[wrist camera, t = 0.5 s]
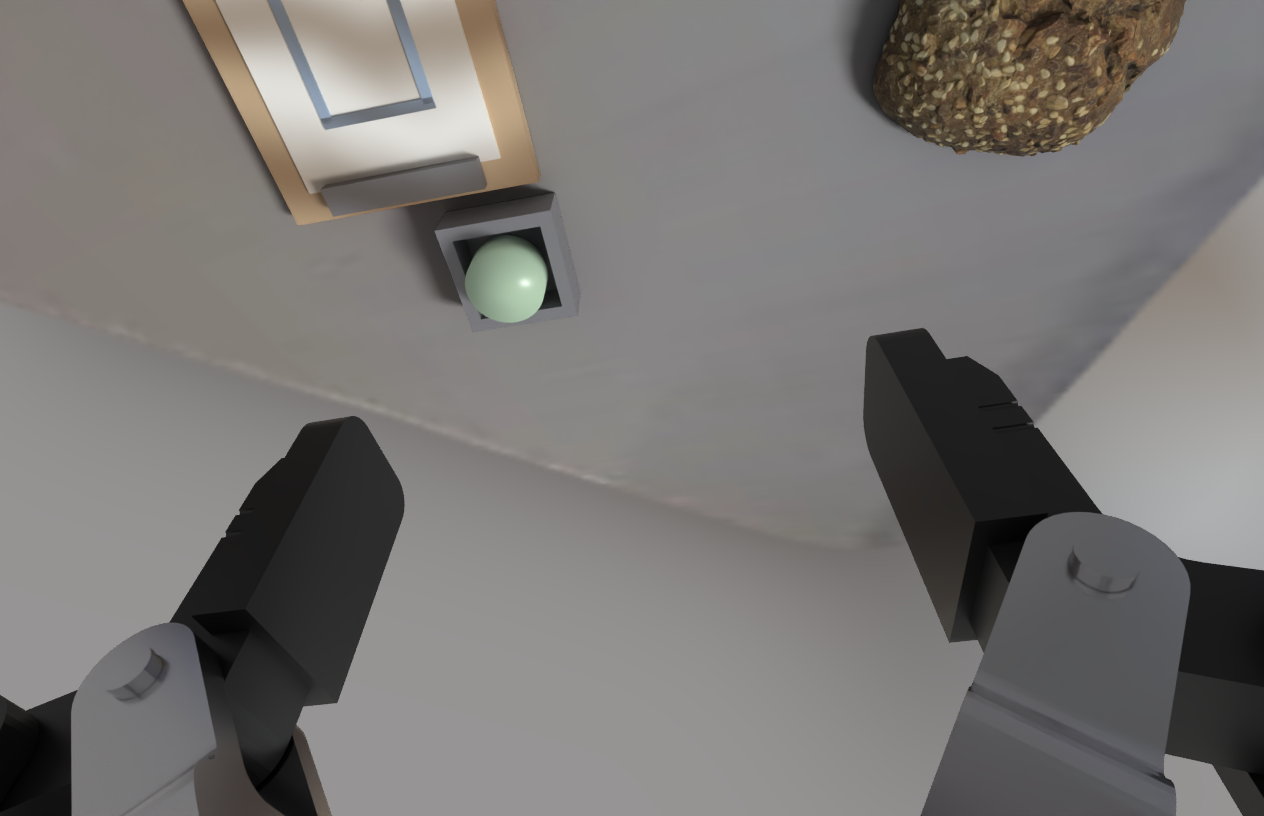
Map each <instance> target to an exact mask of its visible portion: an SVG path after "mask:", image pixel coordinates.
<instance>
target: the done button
mask: <svg viewBox="0 0 1264 816" xmlns="http://www.w3.org/2000/svg"><path fill="white" fill-rule="evenodd" d="M547 280H548V267H547V263H546V260H545V258H544V256H543V255H542V253H541V252H540V251H539V250H538V248H537V247H535V246H534V245H533V244H532V243H530V242H529V241H527V240H525V239H523V238H520V237H517V236H512V235H500V236H496V237H493V238H490V239H488V240H487V241H485V242H484V243H483V244H482V245H481V246H480V247H479V248H478V249H477V251H476V253H475V255H474V257H473V259H472V262H471V264H470V266H469V268H468V271H467V273H466V277H465V289H466V293H467V296H468V298H469V300H470V301H471V303H472V304H473V306H474V307H475V308H476V309H477V310H478V311H479V312H480V313H482V314H483V315H485V316H486V317H488V318H490V319H493V320H495V321H499V322H505V323H513V322H519V321H523V320H525V319H527V318H529V317H531V316H532V315H533V314H535V313H536V312H537V310H538V309H539V308H540V306H541V304H542V302H543V298H544V294H545V289H546V285H547Z"/></svg>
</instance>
